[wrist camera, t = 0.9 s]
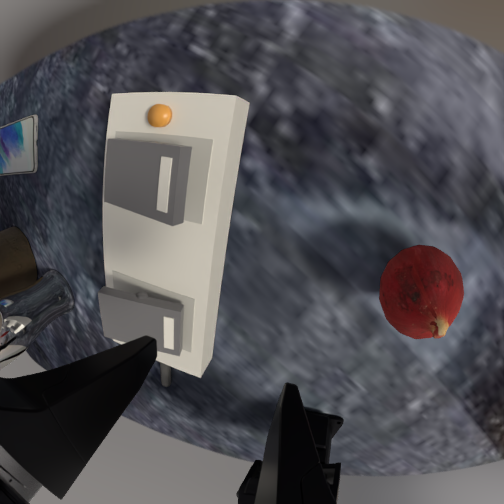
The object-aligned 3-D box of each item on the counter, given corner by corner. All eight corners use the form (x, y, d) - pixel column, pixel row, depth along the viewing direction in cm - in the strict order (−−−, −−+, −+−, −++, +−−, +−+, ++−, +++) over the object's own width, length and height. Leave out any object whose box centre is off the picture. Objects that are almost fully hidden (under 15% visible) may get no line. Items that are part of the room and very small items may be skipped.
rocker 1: (188, 221, 17) (171, 226, 16) (119, 198, 20) (103, 201, 19) (197, 146, 16) (179, 146, 14) (123, 138, 18) (106, 138, 17)
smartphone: (35, 173, 25) (-8, 176, 28) (40, 171, 26) (-4, 175, 29) (35, 113, 22) (-9, 131, 25) (40, 112, 23) (-5, 130, 26)
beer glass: (40, 262, 30) (-44, 312, 17) (69, 270, 29) (-27, 332, 15) (52, 307, 33) (-21, 362, 19) (82, 320, 31) (2, 387, 18)
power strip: (207, 396, 30) (195, 419, 26) (133, 365, 31) (118, 383, 28) (249, 102, 18) (233, 94, 15) (135, 97, 20) (107, 93, 17)
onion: (357, 267, 20) (368, 330, 13) (413, 215, 18) (457, 254, 11) (401, 315, 20) (422, 384, 13) (454, 269, 18) (498, 325, 11)
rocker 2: (183, 344, 23) (179, 357, 22) (111, 326, 23) (104, 336, 22) (185, 301, 21) (180, 312, 20) (106, 283, 21) (97, 292, 20)
